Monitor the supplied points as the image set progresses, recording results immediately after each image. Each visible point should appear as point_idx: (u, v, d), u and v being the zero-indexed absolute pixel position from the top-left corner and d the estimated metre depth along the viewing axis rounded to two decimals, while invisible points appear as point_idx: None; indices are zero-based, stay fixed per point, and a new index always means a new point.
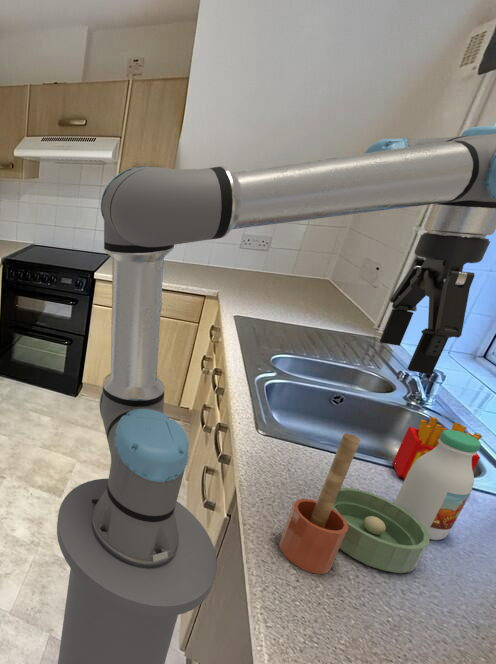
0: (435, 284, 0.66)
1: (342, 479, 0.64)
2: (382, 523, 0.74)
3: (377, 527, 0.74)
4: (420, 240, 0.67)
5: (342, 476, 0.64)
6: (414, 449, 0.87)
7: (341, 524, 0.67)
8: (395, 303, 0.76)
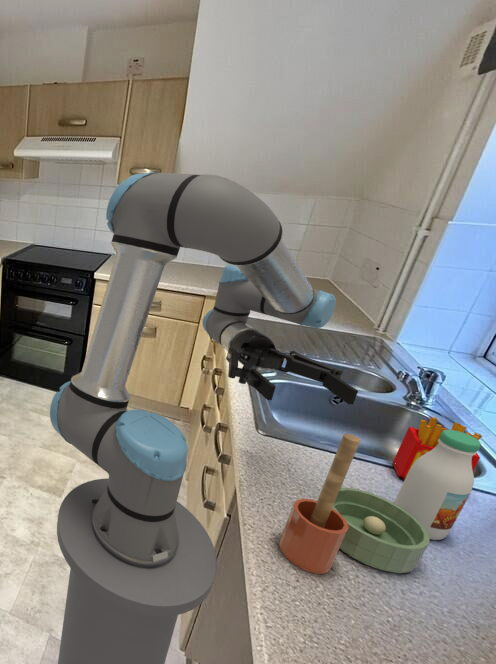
0: None
1: (342, 479, 0.64)
2: (382, 523, 0.74)
3: (377, 527, 0.74)
4: (254, 332, 0.88)
5: (342, 476, 0.64)
6: (414, 449, 0.87)
7: (341, 524, 0.67)
8: (246, 366, 0.78)
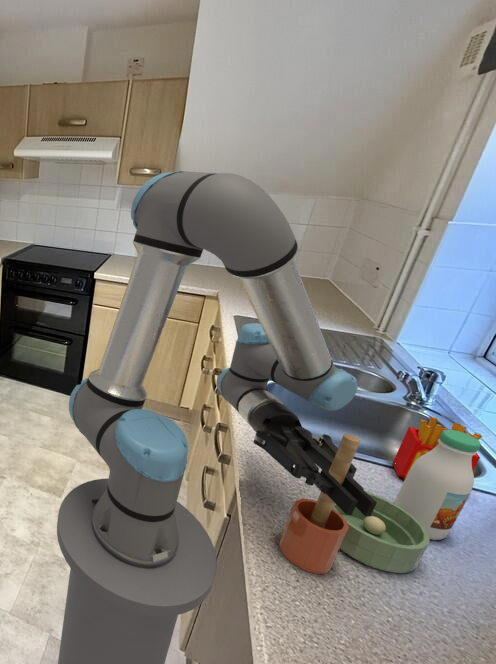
0: (310, 438, 0.75)
1: (342, 479, 0.64)
2: (382, 523, 0.74)
3: (377, 527, 0.74)
4: (277, 405, 0.80)
5: (342, 476, 0.64)
6: (414, 449, 0.87)
7: (341, 524, 0.67)
8: (312, 465, 0.67)
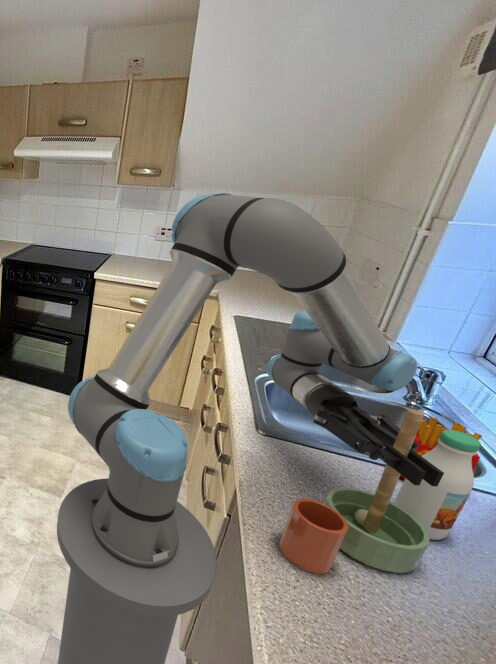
0: None
1: (407, 452, 0.69)
2: (367, 510, 0.77)
3: (363, 512, 0.76)
4: (334, 387, 0.84)
5: (407, 449, 0.68)
6: None
7: (341, 524, 0.67)
8: (377, 441, 0.72)
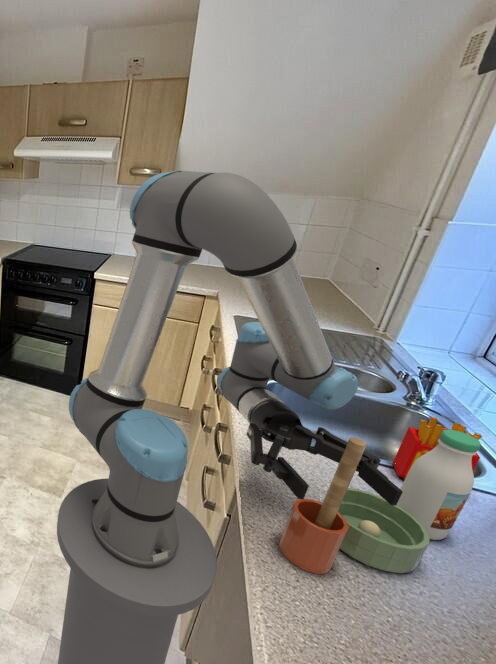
0: None
1: (348, 483, 0.64)
2: None
3: None
4: (278, 403, 0.80)
5: (348, 480, 0.63)
6: (414, 449, 0.87)
7: (341, 524, 0.67)
8: (272, 453, 0.70)
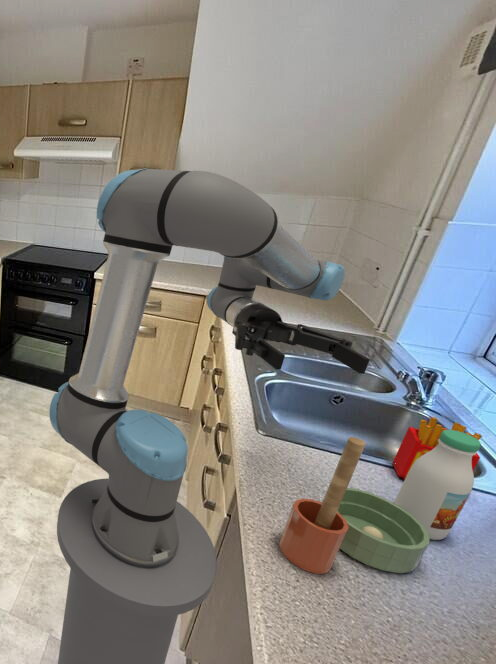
0: (290, 329, 0.81)
1: (347, 483, 0.64)
2: None
3: None
4: (261, 305, 0.86)
5: (347, 480, 0.63)
6: (414, 449, 0.87)
7: (341, 524, 0.67)
8: (254, 338, 0.76)
